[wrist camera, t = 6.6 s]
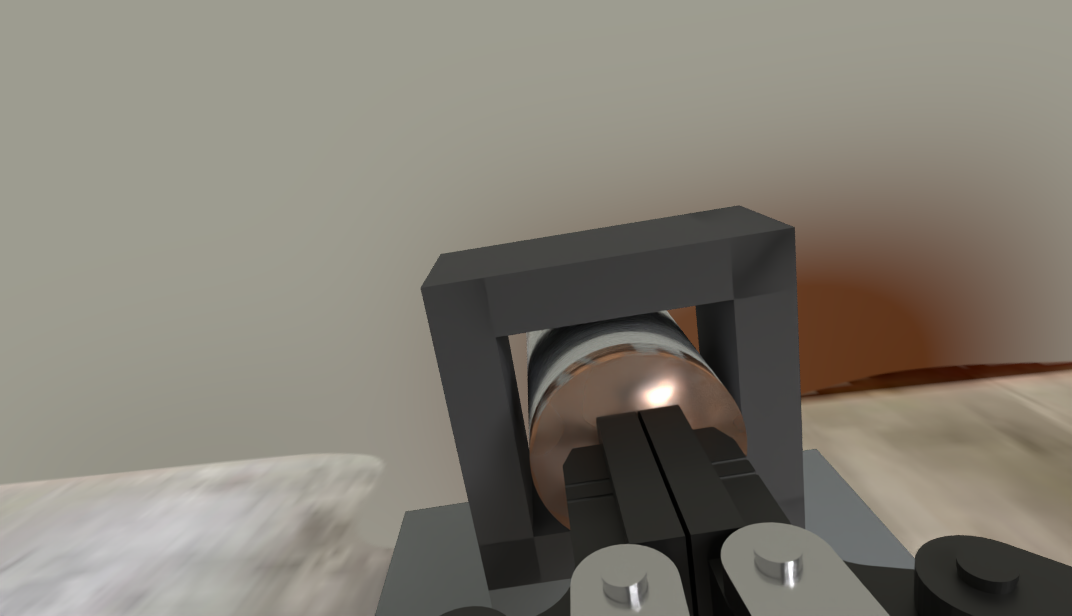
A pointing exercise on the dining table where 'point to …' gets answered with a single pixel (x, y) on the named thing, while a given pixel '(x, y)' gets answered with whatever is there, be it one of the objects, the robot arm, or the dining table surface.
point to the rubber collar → (600, 294)
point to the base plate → (459, 580)
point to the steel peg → (613, 389)
